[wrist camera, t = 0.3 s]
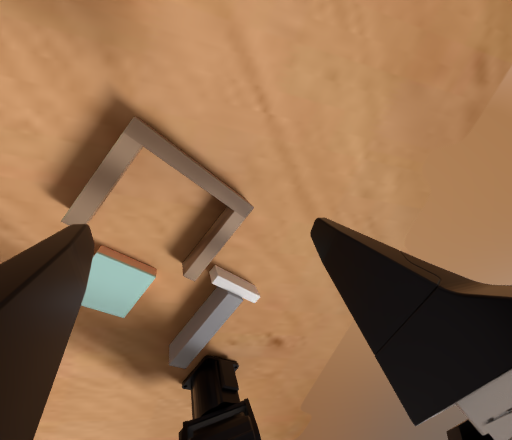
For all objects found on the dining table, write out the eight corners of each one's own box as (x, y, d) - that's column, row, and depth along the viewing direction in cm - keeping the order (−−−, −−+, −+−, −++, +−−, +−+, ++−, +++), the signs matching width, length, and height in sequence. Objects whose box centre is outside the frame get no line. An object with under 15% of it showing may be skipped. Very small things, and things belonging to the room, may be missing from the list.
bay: (193, 268, 26) (194, 281, 24) (73, 211, 20) (60, 221, 18) (247, 200, 25) (254, 207, 23) (138, 117, 19) (134, 116, 17)
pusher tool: (198, 351, 32) (200, 371, 29) (153, 340, 28) (151, 361, 26) (254, 284, 30) (262, 299, 28) (214, 264, 27) (219, 278, 24)
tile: (127, 305, 26) (124, 318, 24) (70, 286, 23) (61, 299, 21) (156, 267, 25) (155, 277, 23) (102, 243, 22) (96, 252, 20)
